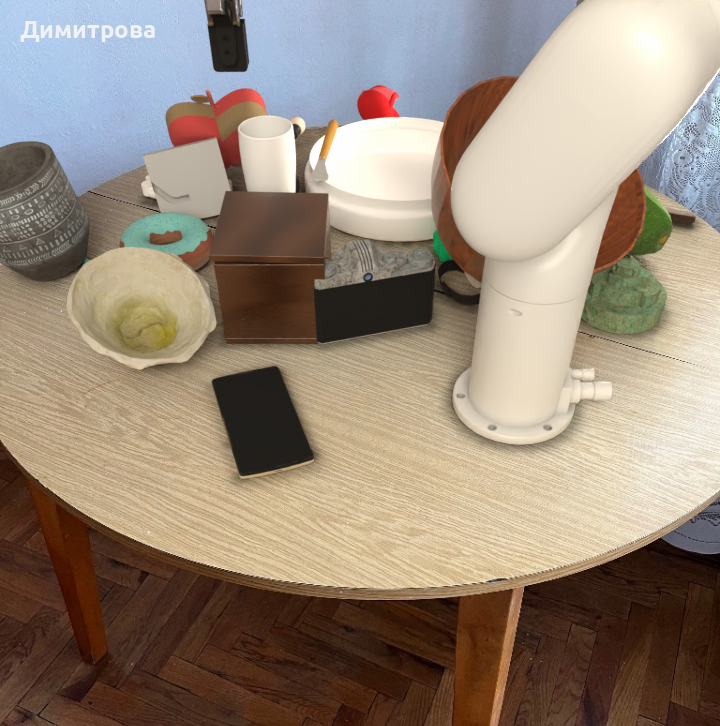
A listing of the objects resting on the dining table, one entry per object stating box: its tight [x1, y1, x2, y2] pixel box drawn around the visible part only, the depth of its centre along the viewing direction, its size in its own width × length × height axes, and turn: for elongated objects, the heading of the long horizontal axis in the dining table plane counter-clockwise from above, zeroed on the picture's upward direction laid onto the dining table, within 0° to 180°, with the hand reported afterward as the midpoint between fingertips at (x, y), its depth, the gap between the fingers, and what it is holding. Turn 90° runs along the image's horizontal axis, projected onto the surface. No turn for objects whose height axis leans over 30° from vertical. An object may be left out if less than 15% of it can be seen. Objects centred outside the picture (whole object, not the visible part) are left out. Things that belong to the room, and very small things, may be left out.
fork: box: [307, 119, 340, 181], centre depth 107 cm, size 2×2×20 cm
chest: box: [213, 204, 332, 345], centre depth 89 cm, size 12×14×10 cm
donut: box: [118, 212, 214, 272], centre depth 99 cm, size 12×12×4 cm
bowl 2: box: [431, 75, 646, 283], centre depth 89 cm, size 25×25×11 cm
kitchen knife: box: [665, 207, 697, 224], centre depth 108 cm, size 18×1×2 cm
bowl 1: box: [65, 247, 218, 371], centre depth 84 cm, size 15×14×10 cm
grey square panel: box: [142, 137, 231, 220], centre depth 106 cm, size 12×11×4 cm
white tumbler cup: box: [238, 114, 297, 193], centre depth 98 cm, size 7×7×15 cm
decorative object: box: [165, 87, 268, 171], centre depth 108 cm, size 14×4×15 cm
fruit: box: [626, 184, 673, 256], centre depth 99 cm, size 15×10×10 cm
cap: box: [356, 84, 401, 121], centre depth 125 cm, size 8×6×6 cm
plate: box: [303, 116, 444, 243], centre depth 110 cm, size 27×27×6 cm
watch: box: [437, 260, 482, 306], centre depth 93 cm, size 8×5×4 cm, turn 31°
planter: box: [0, 140, 90, 282], centre depth 94 cm, size 12×12×13 cm
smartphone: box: [211, 365, 315, 480], centre depth 79 cm, size 7×1×15 cm
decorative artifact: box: [581, 255, 668, 335], centre depth 90 cm, size 10×7×10 cm
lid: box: [209, 190, 329, 264], centre depth 85 cm, size 12×14×1 cm
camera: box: [314, 238, 437, 345], centre depth 88 cm, size 15×7×10 cm, turn 106°
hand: (231, 68), depth 73 cm, fingers closed
